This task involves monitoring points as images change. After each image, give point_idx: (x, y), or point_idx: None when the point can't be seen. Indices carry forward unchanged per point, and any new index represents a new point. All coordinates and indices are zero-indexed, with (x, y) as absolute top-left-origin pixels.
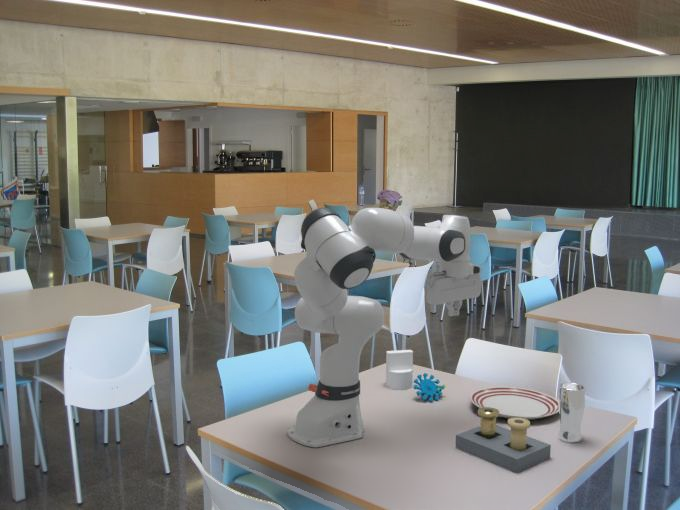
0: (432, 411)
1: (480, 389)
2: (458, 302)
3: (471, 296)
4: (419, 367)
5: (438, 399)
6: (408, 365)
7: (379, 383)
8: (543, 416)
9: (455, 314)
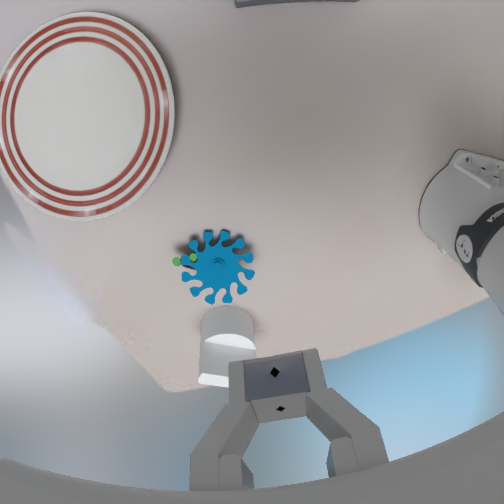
0: (259, 184)
1: (100, 216)
2: (242, 468)
3: (71, 493)
4: (144, 367)
5: (204, 233)
6: (213, 349)
7: None
8: (70, 15)
9: (279, 361)
